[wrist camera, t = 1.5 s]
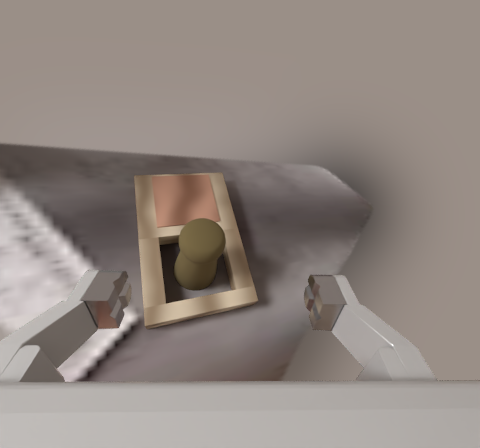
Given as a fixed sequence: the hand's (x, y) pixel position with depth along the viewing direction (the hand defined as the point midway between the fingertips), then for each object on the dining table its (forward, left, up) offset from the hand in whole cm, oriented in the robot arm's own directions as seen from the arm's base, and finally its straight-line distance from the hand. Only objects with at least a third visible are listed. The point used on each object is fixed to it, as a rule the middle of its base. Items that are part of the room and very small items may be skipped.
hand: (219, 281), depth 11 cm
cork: (+2, +9, -23) cm, 25 cm away
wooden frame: (+2, +13, -23) cm, 27 cm away
